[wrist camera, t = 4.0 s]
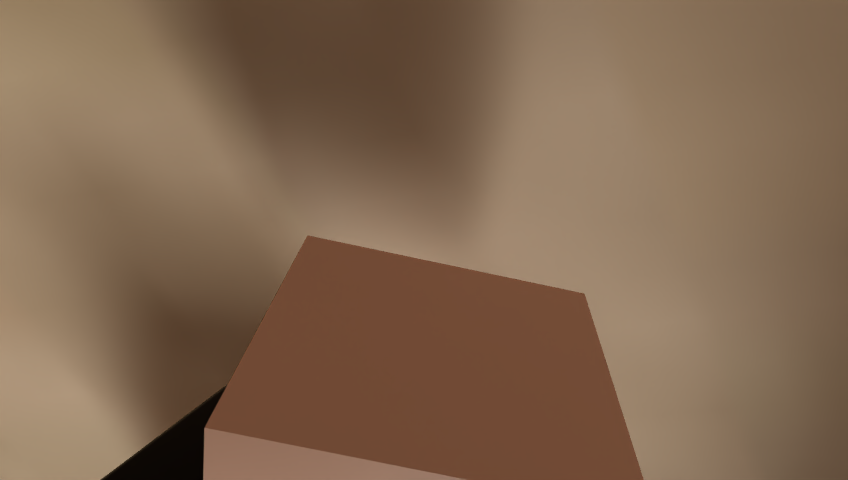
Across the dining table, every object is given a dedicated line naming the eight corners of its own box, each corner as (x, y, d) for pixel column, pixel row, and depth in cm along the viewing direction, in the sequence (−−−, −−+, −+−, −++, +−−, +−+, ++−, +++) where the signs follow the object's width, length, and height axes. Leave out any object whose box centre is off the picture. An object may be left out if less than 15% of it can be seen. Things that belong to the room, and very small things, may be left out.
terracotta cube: (584, 293, 9) (655, 517, 6) (509, 479, 11) (527, 725, 8) (307, 235, 9) (203, 427, 6) (284, 434, 11) (198, 665, 8)
